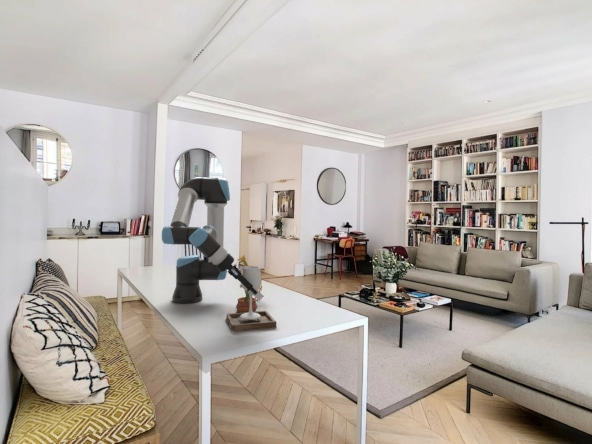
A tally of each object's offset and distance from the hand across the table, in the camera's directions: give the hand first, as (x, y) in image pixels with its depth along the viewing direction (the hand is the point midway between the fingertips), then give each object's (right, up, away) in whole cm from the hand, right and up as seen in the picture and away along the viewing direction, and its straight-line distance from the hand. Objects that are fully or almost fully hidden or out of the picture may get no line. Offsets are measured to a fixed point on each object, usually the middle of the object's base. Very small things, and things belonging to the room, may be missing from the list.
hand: (258, 295), depth 144 cm
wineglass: (-3, -9, -1) cm, 10 cm away
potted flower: (-9, -11, +16) cm, 22 cm away
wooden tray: (-3, -12, -1) cm, 12 cm away
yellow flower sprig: (-9, -11, +34) cm, 37 cm away
